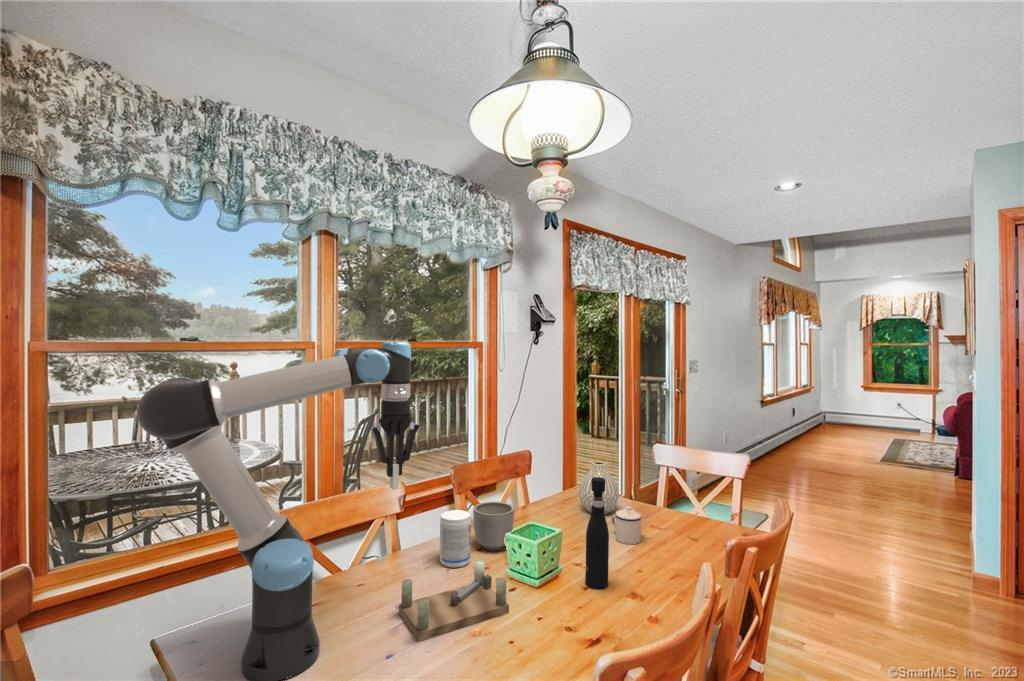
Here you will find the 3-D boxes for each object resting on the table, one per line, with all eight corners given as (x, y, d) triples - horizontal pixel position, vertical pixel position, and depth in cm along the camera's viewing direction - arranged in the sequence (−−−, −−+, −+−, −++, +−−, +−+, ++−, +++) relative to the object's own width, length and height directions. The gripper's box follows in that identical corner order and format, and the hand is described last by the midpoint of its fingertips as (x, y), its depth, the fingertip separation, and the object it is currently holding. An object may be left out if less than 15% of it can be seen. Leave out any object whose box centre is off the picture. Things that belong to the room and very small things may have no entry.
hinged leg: (461, 601, 124) (462, 579, 124) (452, 598, 125) (453, 577, 125) (486, 582, 134) (486, 561, 134) (477, 579, 135) (478, 559, 136)
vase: (578, 516, 194) (579, 466, 194) (579, 503, 210) (580, 457, 210) (619, 519, 191) (619, 468, 191) (617, 506, 207) (617, 459, 207)
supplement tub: (475, 564, 150) (476, 516, 150) (448, 571, 145) (448, 522, 145) (461, 552, 158) (462, 507, 159) (434, 559, 153) (435, 512, 153)
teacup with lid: (646, 541, 170) (647, 507, 171) (630, 547, 165) (630, 513, 165) (619, 530, 180) (620, 498, 180) (603, 536, 174) (603, 503, 174)
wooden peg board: (419, 641, 111) (419, 606, 111) (398, 611, 123) (398, 579, 123) (510, 612, 124) (510, 580, 124) (483, 587, 136) (483, 558, 136)
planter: (521, 549, 162) (522, 510, 162) (486, 559, 154) (486, 518, 154) (499, 535, 173) (499, 498, 173) (465, 543, 165) (465, 505, 166)
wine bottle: (612, 584, 139) (614, 479, 140) (600, 592, 135) (601, 483, 135) (593, 576, 144) (595, 474, 144) (580, 584, 139) (582, 478, 139)
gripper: (375, 402, 123) (373, 495, 123) (424, 399, 130) (422, 488, 129) (367, 399, 129) (365, 488, 129) (414, 396, 136) (412, 481, 136)
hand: (394, 488), depth 129 cm, fingers closed
